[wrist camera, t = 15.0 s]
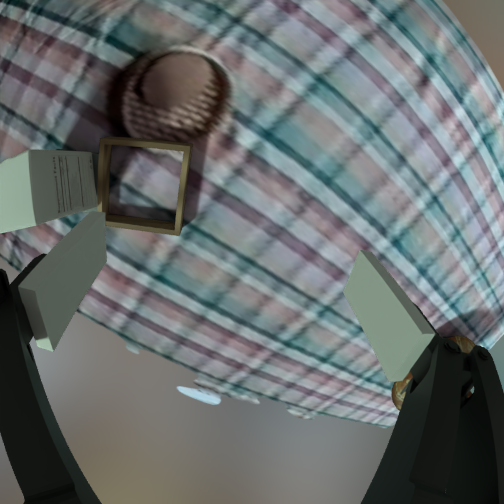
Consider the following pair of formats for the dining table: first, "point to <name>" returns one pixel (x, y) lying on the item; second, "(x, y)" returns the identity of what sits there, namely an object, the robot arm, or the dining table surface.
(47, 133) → the dining table surface
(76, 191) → the supplement box
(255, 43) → the dining table surface
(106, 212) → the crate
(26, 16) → the dining table surface
